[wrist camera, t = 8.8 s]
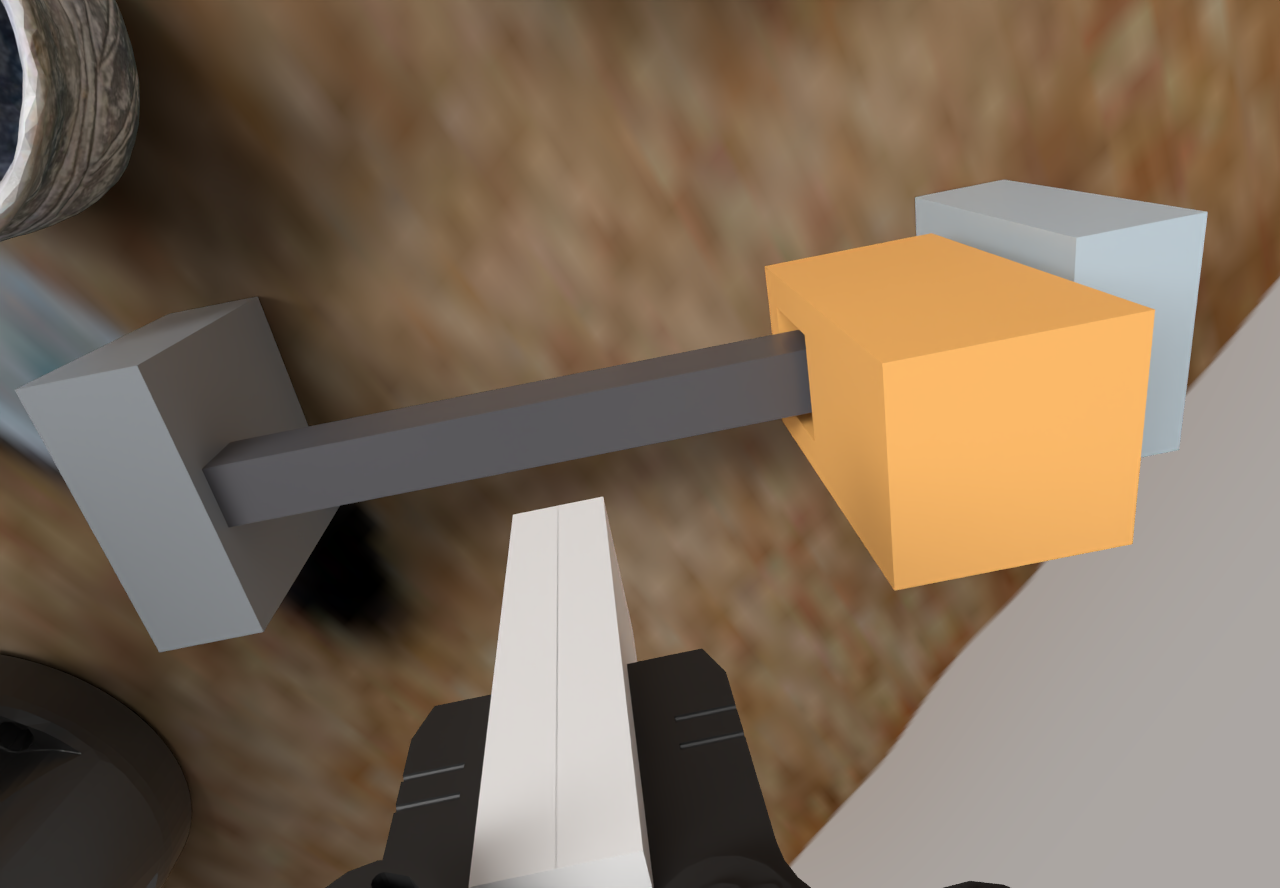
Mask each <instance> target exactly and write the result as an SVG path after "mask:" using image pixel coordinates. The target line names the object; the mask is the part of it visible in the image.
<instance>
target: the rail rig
mask: <svg viewBox="0 0 1280 888" xmlns="http://www.w3.org/2000/svg"><path fill="white" fill-rule="evenodd" d="M915 208H916V236H920V235H925V234H930V233H933V234H936V235H938V236H941V237H944V238H947V239H950V240H953V241H956V242H959V243H962V244H965V245H968V246H971V247H974V248H977V249H979V250H982V251H985V252H988V253H991V254H994V255H997V256H1000V257H1003V258H1006V259H1009V260H1012V261H1015V262H1017V263H1020V264H1023V265H1026V266H1029V267H1032V268H1035V269H1038V270H1041V271H1044V272H1047V273H1050V274H1053V275H1056V276H1058V277H1061V278H1064V279H1067V280H1070V281H1073V282H1076V283H1079V284H1082V285H1085V286H1088V287H1091V288H1094V289H1096V290H1099V291H1102V292H1105V293H1108V294H1111V295H1114V296H1117V297H1120V298H1123V299H1126V300H1129V301H1132V302H1135V303H1137V304H1140V305H1143V306H1146V307H1149V308H1152V309H1155V317H1154V328H1153V338H1152V348H1151V358H1150V369H1149V379H1148V389H1147V400H1146V410H1145V420H1144V430H1143V441H1142V451H1141V457H1146V456H1152V455H1156V454H1162V453H1167V452H1172V451H1177V450H1179V446H1180V439H1181V430H1182V422H1183V413H1184V405H1185V397H1186V388H1187V380H1188V372H1189V363H1190V355H1191V347H1192V338H1193V330H1194V322H1195V313H1196V305H1197V296H1198V288H1199V280H1200V271H1201V263H1202V255H1203V246H1204V238H1205V230H1206V221H1207V213H1208V212H1205V211H1199V210H1193V209H1186V208H1180V207H1174V206H1167V205H1161V204H1155V203H1148V202H1142V201H1136V200H1129V199H1123V198H1117V197H1110V196H1104V195H1098V194H1091V193H1085V192H1079V191H1072V190H1066V189H1060V188H1053V187H1047V186H1041V185H1034V184H1028V183H1022V182H1015V181H1009V180H999V181H994V182H989V183H984V184H979V185H974V186H969V187H964V188H959V189H954V190H949V191H944V192H939V193H934V194H929V195H924V196H919V197H915ZM15 391H16V393H17V395H18V397H19V399H20V401H21V402H22V404H23V406H24V408H25V410H26V411H27V413H28V415H29V417H30V419H31V420H32V422H33V424H34V426H35V428H36V430H37V431H38V433H39V435H40V437H41V439H42V440H43V442H44V444H45V446H46V448H47V449H48V451H49V453H50V455H51V457H52V459H53V460H54V462H55V464H56V466H57V468H58V469H59V471H60V473H61V475H62V477H63V478H64V480H65V482H66V484H67V486H68V488H69V489H70V491H71V493H72V495H73V497H74V498H75V500H76V502H77V504H78V506H79V507H80V509H81V511H82V513H83V515H84V517H85V518H86V520H87V522H88V524H89V526H90V527H91V529H92V531H93V533H94V535H95V536H96V538H97V540H98V542H99V544H100V546H101V547H102V549H103V551H104V553H105V555H106V556H107V558H108V560H109V562H110V564H111V565H112V567H113V569H114V571H115V573H116V575H117V576H118V578H119V580H120V582H121V584H122V585H123V587H124V589H125V591H126V593H127V594H128V596H129V598H130V600H131V602H132V604H133V605H134V607H135V609H136V611H137V613H138V614H139V616H140V618H141V620H142V622H143V623H144V625H145V627H146V629H147V631H148V633H149V634H150V636H151V638H152V640H153V642H154V643H155V645H156V647H157V649H158V651H159V652H164V651H169V650H174V649H179V648H184V647H189V646H194V645H199V644H204V643H210V642H215V641H220V640H225V639H230V638H235V637H240V636H245V635H250V634H255V633H260V632H264V630H265V629H266V627H267V625H268V624H269V622H270V620H271V619H272V617H273V615H274V614H275V612H276V611H277V609H278V607H279V606H280V604H281V602H282V601H283V599H284V597H285V596H286V594H287V592H288V591H289V589H290V587H291V586H292V584H293V582H294V581H295V579H296V578H297V576H298V574H299V573H300V571H301V569H302V568H303V566H304V564H305V563H306V561H307V559H308V558H309V556H310V554H311V553H312V551H313V549H314V548H315V546H316V545H317V543H318V541H319V540H320V538H321V536H322V535H323V533H324V531H325V530H326V528H327V526H328V525H329V523H330V521H331V520H332V518H333V516H334V515H335V513H336V512H337V510H338V508H339V507H340V505H345V504H350V503H356V502H361V501H366V500H371V499H376V498H381V497H386V496H391V495H396V494H401V493H406V492H411V491H416V490H421V489H427V488H432V487H437V486H442V485H447V484H452V483H457V482H462V481H467V480H472V479H477V478H482V477H487V476H492V475H498V474H503V473H508V472H513V471H518V470H523V469H528V468H533V467H538V466H543V465H548V464H553V463H558V462H563V461H568V460H574V459H579V458H584V457H589V456H594V455H599V454H604V453H609V452H614V451H619V450H624V449H629V448H634V447H639V446H645V445H650V444H655V443H660V442H665V441H670V440H675V439H680V438H685V437H690V436H695V435H700V434H705V433H710V432H716V431H721V430H726V429H731V428H736V427H741V426H746V425H751V424H756V423H761V422H766V421H771V420H776V419H781V418H787V417H792V416H797V415H802V414H807V413H812V406H811V396H810V385H809V375H808V365H807V354H806V344H805V335H804V334H803V333H802V332H801V331H800V330H794V331H789V332H784V333H779V334H774V335H769V336H764V337H759V338H754V339H749V340H744V341H739V342H734V343H729V344H724V345H719V346H713V347H708V348H703V349H698V350H693V351H688V352H683V353H678V354H673V355H668V356H663V357H658V358H653V359H648V360H643V361H638V362H633V363H628V364H622V365H617V366H612V367H607V368H602V369H597V370H592V371H587V372H582V373H577V374H572V375H567V376H562V377H557V378H552V379H547V380H542V381H537V382H531V383H526V384H521V385H516V386H511V387H506V388H501V389H496V390H491V391H486V392H481V393H476V394H471V395H466V396H461V397H456V398H451V399H446V400H440V401H435V402H430V403H425V404H420V405H415V406H410V407H405V408H400V409H395V410H390V411H385V412H380V413H375V414H370V415H365V416H360V417H355V418H349V419H344V420H339V421H334V422H329V423H324V424H319V425H314V426H308V424H307V421H306V419H305V416H304V414H303V411H302V409H301V406H300V403H299V401H298V398H297V396H296V393H295V391H294V388H293V386H292V383H291V380H290V378H289V375H288V373H287V370H286V368H285V365H284V363H283V360H282V357H281V355H280V352H279V350H278V347H277V345H276V342H275V340H274V337H273V334H272V332H271V329H270V327H269V324H268V322H267V319H266V317H265V314H264V311H263V309H262V306H261V304H260V301H259V299H258V296H257V297H252V298H247V299H242V300H237V301H232V302H227V303H222V304H217V305H212V306H207V307H201V308H196V309H191V310H186V311H181V312H176V313H171V314H168V315H166V316H164V317H161V318H159V319H157V320H155V321H153V322H151V323H149V324H147V325H145V326H143V327H141V328H139V329H137V330H135V331H133V332H131V333H129V334H127V335H125V336H123V337H121V338H119V339H117V340H115V341H113V342H111V343H109V344H107V345H105V346H103V347H100V348H98V349H96V350H94V351H92V352H90V353H88V354H86V355H84V356H82V357H80V358H78V359H76V360H74V361H72V362H70V363H68V364H66V365H64V366H62V367H60V368H58V369H56V370H54V371H52V372H50V373H48V374H46V375H44V376H41V377H39V378H37V379H35V380H33V381H31V382H29V383H27V384H25V385H23V386H21V387H19V388H17V389H15Z"/></svg>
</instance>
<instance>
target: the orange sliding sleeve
mask: <svg viewBox="0 0 1280 888" xmlns="http://www.w3.org/2000/svg"><path fill="white" fill-rule="evenodd" d="M765 274H766V282H767V291H768V300H769V309H770V318H771V326H772V335H774V334H779V333H784V332H789V331H794V330H800V331H801V332H802V333H803V334H804V335H805V344H806V354H807V365H808V375H809V385H810V396H811V406H812V413H807V414H802V415H797V416H792V417H787V418H782V421H783V423H784V424H785V426H786V427H787V429H788V430H789V432H790V433H791V435H792V436H793V438H794V439H795V441H796V442H797V444H798V445H799V447H800V448H801V450H802V451H803V453H804V454H805V456H806V457H807V459H808V460H809V462H810V464H811V465H812V467H813V468H814V470H815V471H816V473H817V474H818V476H819V477H820V479H821V480H822V482H823V483H824V485H825V486H826V488H827V489H828V491H829V492H830V494H831V495H832V497H833V498H834V500H835V501H836V503H837V504H838V506H839V507H840V509H841V510H842V512H843V513H844V515H845V516H846V518H847V519H848V521H849V522H850V524H851V526H852V527H853V529H854V530H855V532H856V533H857V535H858V536H859V538H860V539H861V541H862V542H863V544H864V545H865V547H866V548H867V550H868V551H869V553H870V554H871V556H872V557H873V559H874V560H875V562H876V563H877V565H878V566H879V568H880V569H881V571H882V572H883V574H884V575H885V577H886V578H887V580H888V581H889V583H890V585H891V586H892V588H893V589H894V591H895V590H900V589H905V588H910V587H915V586H921V585H926V584H931V583H936V582H941V581H946V580H951V579H956V578H961V577H966V576H972V575H977V574H982V573H987V572H992V571H997V570H1002V569H1007V568H1012V567H1017V566H1023V565H1028V564H1033V563H1038V562H1043V561H1048V560H1053V559H1058V558H1063V557H1069V556H1074V555H1079V554H1084V553H1089V552H1093V551H1099V550H1104V549H1109V548H1114V547H1120V546H1125V545H1130V544H1132V543H1133V533H1134V522H1135V512H1136V502H1137V491H1138V481H1139V471H1140V461H1141V451H1142V441H1143V430H1144V420H1145V410H1146V400H1147V389H1148V379H1149V369H1150V358H1151V348H1152V338H1153V328H1154V317H1155V309H1152V308H1149V307H1146V306H1143V305H1140V304H1137V303H1135V302H1132V301H1129V300H1126V299H1123V298H1120V297H1117V296H1114V295H1111V294H1108V293H1105V292H1102V291H1099V290H1096V289H1094V288H1091V287H1088V286H1085V285H1082V284H1079V283H1076V282H1073V281H1070V280H1067V279H1064V278H1061V277H1058V276H1056V275H1053V274H1050V273H1047V272H1044V271H1041V270H1038V269H1035V268H1032V267H1029V266H1026V265H1023V264H1020V263H1017V262H1015V261H1012V260H1009V259H1006V258H1003V257H1000V256H997V255H994V254H991V253H988V252H985V251H982V250H979V249H977V248H974V247H971V246H968V245H965V244H962V243H959V242H956V241H953V240H950V239H947V238H944V237H941V236H938V235H936V234H933V233H930V234H925V235H920V236H915V237H910V238H905V239H900V240H895V241H890V242H885V243H880V244H875V245H870V246H864V247H859V248H854V249H849V250H844V251H839V252H834V253H829V254H824V255H819V256H814V257H809V258H804V259H799V260H794V261H789V262H784V263H779V264H774V265H769V266H765Z"/></svg>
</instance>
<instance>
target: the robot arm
mask: <svg viewBox="0 0 1280 888" xmlns="http://www.w3.org/2000/svg"><path fill="white" fill-rule="evenodd" d="M403 777H404V782H401V786H400V790H399V794H398V798H397V802H396V813H394V815H393V819H392V823H391V827H390V832H389V836H388V840H387V844H386V848H385V852H384V857H383V860H380V861H376V862H373V863H370V864H368V865H365V866H362V867H360V868H357V869H354V870H352V871H349V872H347V873H346V874H344V875H343V876H341V877H340V878H339V879H337V880H336V881H334V882H333V883H331V884H330V885H329V886H327V887H326V888H811V887H809V886H808V885H807V884H806V883H804V882H803V881H802V880H801V879H799V878H798V877H797V876H796V875H795V873H794V872H793V870H792V869H791V868H790V867H789V865H788V864H787V863H786V862H785V860H784V858H783V856H782V854H781V851H780V849H779V847H778V845H777V842H776V839H775V836H774V833H773V829H772V826H771V822H770V819H769V816H768V812H767V809H766V806H765V802H764V799H763V796H762V792H761V789H760V785H759V782H758V779H757V775H756V772H755V769H754V765H753V762H752V759H751V755H750V752H749V749H748V745H747V742H746V738H745V737H744V733H743V728H742V725H741V722H740V718H739V715H738V712H737V710H736V706H735V701H734V698H733V695H732V691H731V688H730V685H729V681H728V678H727V675H726V672H725V671H724V670H723V669H722V668H721V667H720V666H719V665H718V664H717V663H716V662H715V661H714V660H713V659H712V658H711V657H710V656H709V655H708V654H707V653H706V652H705V651H704V650H703V649H698V650H693V651H688V652H683V653H678V654H673V655H669V656H664V657H659V658H654V659H649V660H644V661H639V662H637V657H636V650H635V643H634V636H633V629H632V625H631V620H630V616H629V611H628V607H627V602H626V598H625V593H624V588H623V584H622V579H621V575H620V570H619V566H618V561H617V557H616V552H615V548H614V543H613V539H612V534H611V530H610V525H609V521H608V516H607V511H606V507H605V502H604V498H603V497H598V498H593V499H588V500H583V501H578V502H573V503H569V504H564V505H559V506H554V507H549V508H544V509H539V510H534V511H529V512H524V513H519V514H514V515H513V519H512V527H511V535H510V544H509V552H508V561H507V569H506V577H505V586H504V594H503V602H502V611H501V619H500V628H499V636H498V644H497V653H496V661H495V669H494V678H493V686H492V694H491V695H487V696H482V697H477V698H472V699H467V700H463V701H458V702H453V703H448V704H443V705H438V706H434V708H433V709H432V711H431V712H430V714H429V715H428V716H427V718H426V719H425V721H424V722H423V724H422V725H421V727H420V728H419V730H418V731H417V732H416V734H415V735H414V737H413V738H412V740H411V744H410V748H409V752H408V756H407V760H406V765H405V769H404V773H403ZM191 812H192V808H191V799H190V794H189V789H188V786H187V783H186V779H185V777H184V775H183V772H182V770H181V768H180V766H179V764H178V762H177V760H176V759H175V757H174V756H173V754H172V753H171V751H170V750H169V748H168V747H167V746H166V744H165V743H164V742H163V741H162V739H161V738H160V737H159V736H158V735H157V734H156V733H155V731H154V730H153V729H152V728H151V727H150V726H149V725H148V724H147V723H146V722H144V721H143V720H142V719H141V718H140V717H139V716H137V715H136V714H135V713H134V712H133V711H131V710H130V709H129V708H127V707H126V706H125V705H123V704H122V703H120V702H119V701H117V700H116V699H115V698H113V697H111V696H110V695H108V694H106V693H105V692H103V691H101V690H100V689H98V688H96V687H94V686H92V685H90V684H88V683H87V682H84V681H82V680H80V679H78V678H76V677H74V676H71V675H69V674H66V673H64V672H61V671H59V670H56V669H53V668H51V667H48V666H45V665H42V664H38V663H35V662H31V661H28V660H24V659H20V658H15V657H11V656H6V655H0V888H162V886H163V885H164V883H165V881H166V879H167V877H168V875H169V874H170V872H171V870H172V868H173V866H174V864H175V862H176V861H177V859H178V857H179V855H180V853H181V851H182V849H183V847H184V845H185V843H186V840H187V837H188V834H189V830H190V825H191ZM944 888H1010V887H1008V886H1005V885H1001V884H992V883H984V882H974V881H968V882H964V883H960V884H956V885H952V886H949V887H944Z"/></svg>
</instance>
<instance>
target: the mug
mask: <svg viewBox="0 0 1280 888" xmlns="http://www.w3.org/2000/svg"><path fill="white" fill-rule="evenodd" d="M139 110H140V92H139V78H138V73H137V68H136V63H135V58H134V53H133V49H132V45H131V42H130V39H129V36H128V33H127V30H126V26H125V23H124V20H123V17H122V14H121V12H120V10H119V7H118V5H117V3H116V1H115V0H0V241H4V240H7V239H10V238H13V237H17V236H21V235H25V234H28V233H32V232H35V231H37V230H40V229H43V228H46V227H49V226H52V225H54V224H56V223H59V222H61V221H63V220H65V219H67V218H70V217H72V216H74V215H76V214H78V213H80V212H82V211H83V210H85V209H86V208H88V207H89V206H91V205H92V204H94V203H95V202H97V201H98V200H99V199H100V198H101V197H102V196H103V195H104V194H106V193H107V192H108V191H109V189H110V188H111V187H112V186H114V185H115V184H116V183H117V182H118V181H119V179H120V178H121V176H122V174H123V173H124V171H125V170H126V168H127V166H128V163H129V159H130V156H131V152H132V149H133V147H134V144H135V139H136V135H137V131H138V126H139Z"/></svg>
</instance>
